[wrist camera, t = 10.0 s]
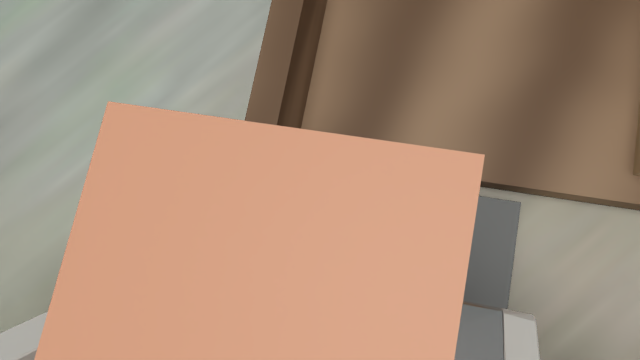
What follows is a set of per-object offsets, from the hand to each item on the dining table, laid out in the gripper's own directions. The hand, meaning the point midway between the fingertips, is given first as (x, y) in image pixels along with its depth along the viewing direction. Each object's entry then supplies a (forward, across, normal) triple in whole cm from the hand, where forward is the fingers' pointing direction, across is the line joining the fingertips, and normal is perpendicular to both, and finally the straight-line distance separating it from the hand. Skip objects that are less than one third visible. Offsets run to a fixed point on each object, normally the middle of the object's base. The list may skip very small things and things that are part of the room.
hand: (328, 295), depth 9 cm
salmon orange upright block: (+5, 0, -6) cm, 7 cm away
